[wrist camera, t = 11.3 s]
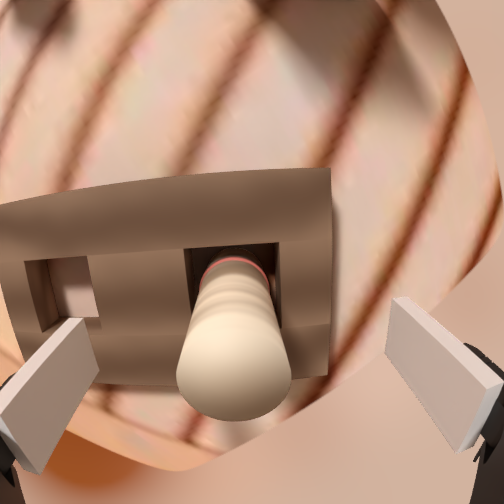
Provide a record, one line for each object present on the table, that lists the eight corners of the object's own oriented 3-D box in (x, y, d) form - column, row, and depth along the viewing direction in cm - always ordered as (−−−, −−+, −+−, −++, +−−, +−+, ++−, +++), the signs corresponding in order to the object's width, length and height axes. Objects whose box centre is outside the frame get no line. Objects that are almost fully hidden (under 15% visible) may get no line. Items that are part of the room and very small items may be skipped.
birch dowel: (201, 248, 21) (163, 332, 10) (263, 244, 22) (294, 324, 10) (207, 305, 22) (184, 424, 11) (266, 301, 23) (293, 418, 11)
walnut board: (9, 203, 20) (-13, 207, 17) (317, 168, 20) (330, 167, 18) (45, 358, 23) (30, 375, 20) (317, 353, 24) (327, 374, 21)
